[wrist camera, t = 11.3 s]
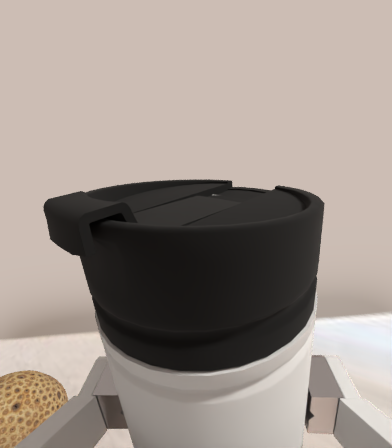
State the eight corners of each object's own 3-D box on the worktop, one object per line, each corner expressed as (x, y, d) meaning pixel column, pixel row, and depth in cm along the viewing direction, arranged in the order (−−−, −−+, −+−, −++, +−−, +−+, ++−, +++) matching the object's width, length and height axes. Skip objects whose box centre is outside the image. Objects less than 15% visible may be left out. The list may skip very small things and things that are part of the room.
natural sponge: (19, 411, 30) (-14, 348, 26) (93, 406, 30) (70, 342, 26) (-50, 524, 22) (-113, 454, 18) (53, 518, 21) (11, 447, 18)
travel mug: (142, 552, 14) (6, 189, 6) (219, 443, 18) (192, 152, 11) (238, 729, 10) (166, 269, 2) (309, 533, 14) (367, 153, 6)
